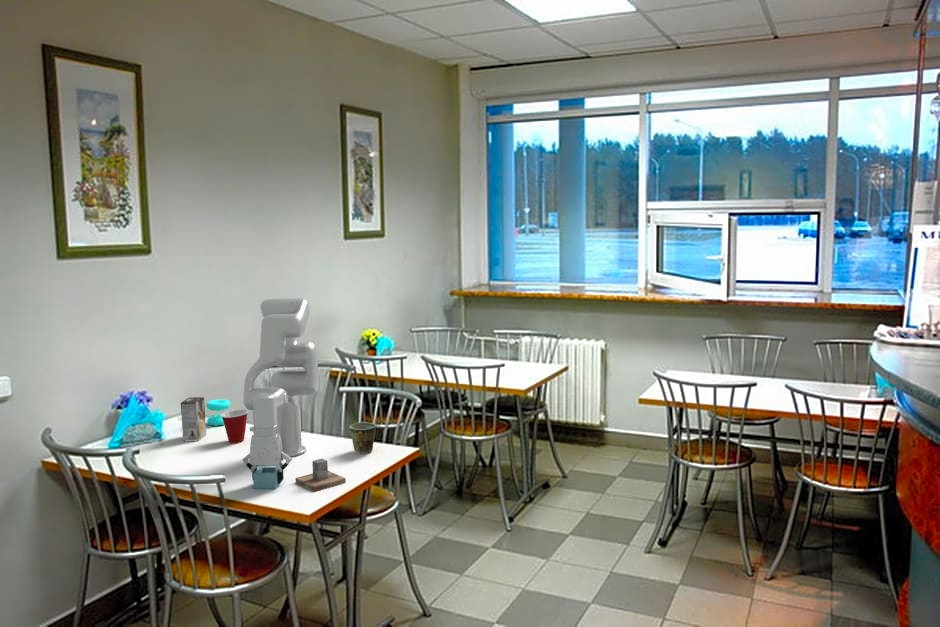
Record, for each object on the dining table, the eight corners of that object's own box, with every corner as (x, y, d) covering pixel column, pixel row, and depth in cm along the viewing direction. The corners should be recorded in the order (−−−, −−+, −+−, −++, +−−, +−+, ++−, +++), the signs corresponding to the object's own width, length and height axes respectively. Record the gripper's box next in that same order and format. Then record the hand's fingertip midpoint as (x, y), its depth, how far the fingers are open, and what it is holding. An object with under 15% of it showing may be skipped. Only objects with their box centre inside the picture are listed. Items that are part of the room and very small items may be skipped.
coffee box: (191, 435, 309) (189, 396, 307) (206, 434, 309) (204, 396, 307) (182, 441, 300) (180, 402, 298) (198, 441, 300) (196, 402, 298)
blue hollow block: (253, 488, 247) (253, 473, 246) (260, 480, 254) (260, 466, 253) (276, 488, 246) (275, 473, 246) (282, 480, 254) (281, 466, 253)
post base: (295, 482, 252) (294, 460, 251) (326, 473, 260) (325, 453, 259) (314, 491, 244) (313, 469, 243) (345, 482, 252) (345, 460, 251)
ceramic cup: (353, 447, 291) (352, 422, 289) (378, 447, 290) (378, 422, 289) (346, 458, 278) (345, 431, 276) (373, 458, 277) (372, 431, 276)
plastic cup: (227, 437, 306) (225, 408, 304) (253, 437, 305) (252, 408, 304) (217, 445, 295) (215, 415, 293) (244, 445, 294) (243, 415, 293)
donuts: (201, 403, 321) (212, 398, 331) (203, 426, 322) (213, 420, 332) (223, 404, 320) (234, 398, 329) (225, 427, 321) (235, 420, 331)
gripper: (235, 433, 244) (238, 486, 247) (288, 434, 244) (290, 486, 246) (243, 427, 252) (246, 478, 254) (294, 427, 251) (297, 478, 253)
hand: (268, 481), depth 250 cm, fingers closed on blue hollow block, 7 cm apart
